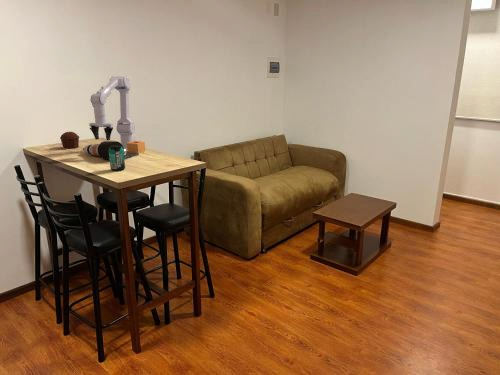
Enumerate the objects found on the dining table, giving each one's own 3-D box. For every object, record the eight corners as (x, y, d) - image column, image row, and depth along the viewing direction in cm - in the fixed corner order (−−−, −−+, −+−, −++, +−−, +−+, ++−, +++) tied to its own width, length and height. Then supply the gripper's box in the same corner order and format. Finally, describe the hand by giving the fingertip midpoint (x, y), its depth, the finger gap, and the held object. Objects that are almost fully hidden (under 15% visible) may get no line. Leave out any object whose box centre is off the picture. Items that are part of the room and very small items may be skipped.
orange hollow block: (134, 150, 244) (133, 140, 242) (145, 151, 241) (144, 141, 240) (127, 152, 237) (126, 143, 235) (138, 153, 235) (137, 143, 233)
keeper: (122, 153, 235) (122, 146, 234) (138, 154, 232) (138, 147, 231) (107, 158, 222) (107, 151, 221) (124, 159, 219) (123, 152, 218)
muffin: (60, 147, 254) (58, 131, 251) (78, 145, 260) (76, 130, 257) (63, 150, 244) (60, 134, 241) (82, 148, 250) (80, 132, 247)
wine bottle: (89, 159, 240) (94, 144, 242) (121, 162, 219) (126, 144, 220) (74, 154, 232) (78, 138, 234) (105, 156, 211) (110, 138, 212)
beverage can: (126, 167, 202) (124, 144, 198) (123, 171, 195) (120, 147, 191) (113, 168, 201) (110, 144, 198) (108, 171, 195) (106, 147, 191)
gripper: (84, 115, 219) (87, 140, 223) (106, 116, 215) (109, 141, 219) (92, 114, 225) (95, 138, 229) (114, 115, 221) (116, 139, 225)
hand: (102, 139), depth 224 cm, fingers open, 7 cm apart
